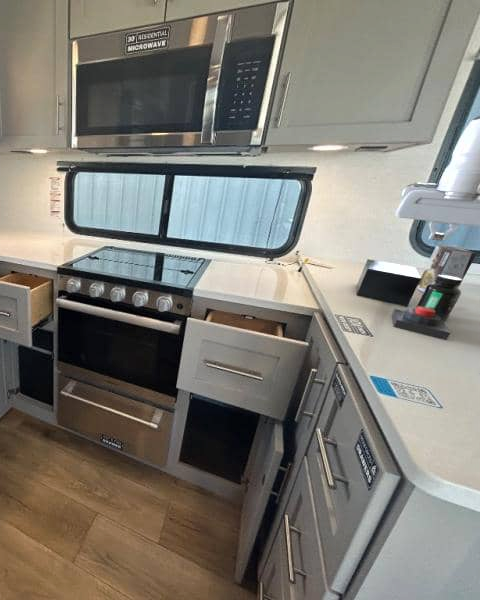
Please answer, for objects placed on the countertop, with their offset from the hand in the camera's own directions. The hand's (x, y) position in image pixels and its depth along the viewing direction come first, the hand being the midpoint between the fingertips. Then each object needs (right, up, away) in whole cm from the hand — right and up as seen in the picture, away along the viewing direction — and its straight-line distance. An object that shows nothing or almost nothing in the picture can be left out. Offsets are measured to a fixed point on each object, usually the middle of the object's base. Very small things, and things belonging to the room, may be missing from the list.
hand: (436, 240), depth 87 cm
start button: (-4, -20, -1) cm, 20 cm away
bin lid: (+7, -6, +20) cm, 22 cm away
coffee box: (+30, -14, +28) cm, 43 cm away
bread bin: (+7, -14, +24) cm, 28 cm away
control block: (-4, -23, +1) cm, 24 cm away
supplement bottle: (+7, -21, +9) cm, 24 cm away
